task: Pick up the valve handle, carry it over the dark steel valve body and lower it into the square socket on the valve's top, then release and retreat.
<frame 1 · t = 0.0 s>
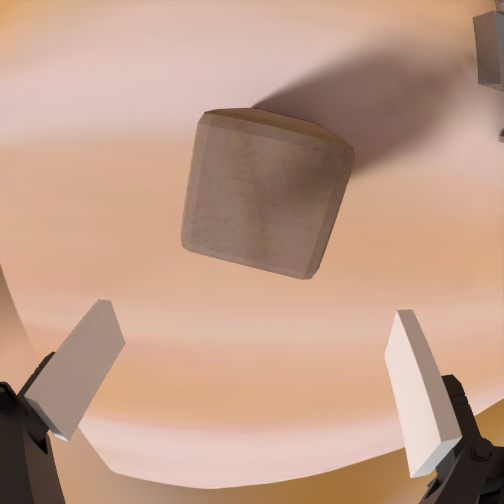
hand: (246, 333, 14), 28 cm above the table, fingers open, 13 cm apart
valve body: (502, 59, 25), on the table
wooden block: (276, 153, 37), on the table
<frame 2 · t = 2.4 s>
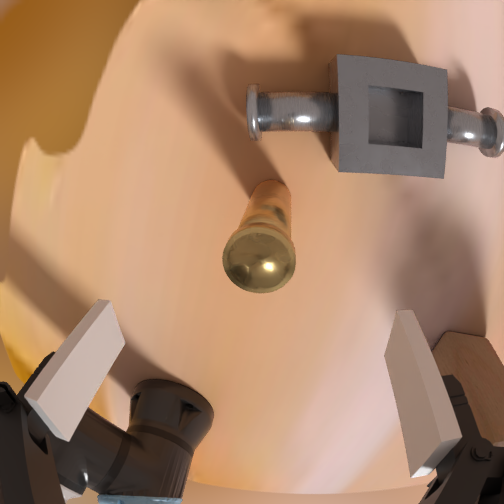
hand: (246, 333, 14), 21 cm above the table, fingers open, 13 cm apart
valve body: (379, 114, 27), on the table
wooden block: (451, 355, 39), on the table
valve handle: (271, 198, 32), on the table
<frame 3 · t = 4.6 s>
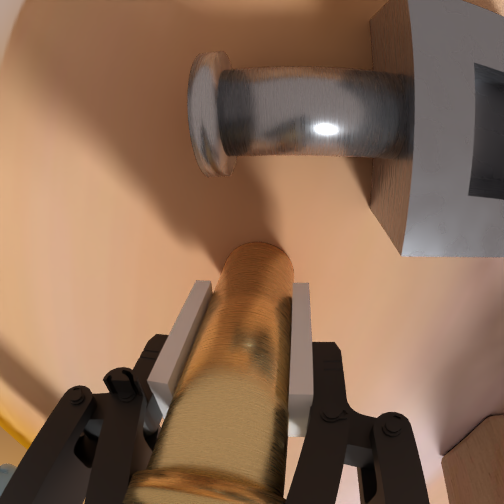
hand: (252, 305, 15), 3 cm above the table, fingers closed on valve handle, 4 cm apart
valve body: (459, 124, 13), on the table
wooden block: (485, 434, 25), on the table
valve handle: (258, 273, 18), on the table, touching gripper
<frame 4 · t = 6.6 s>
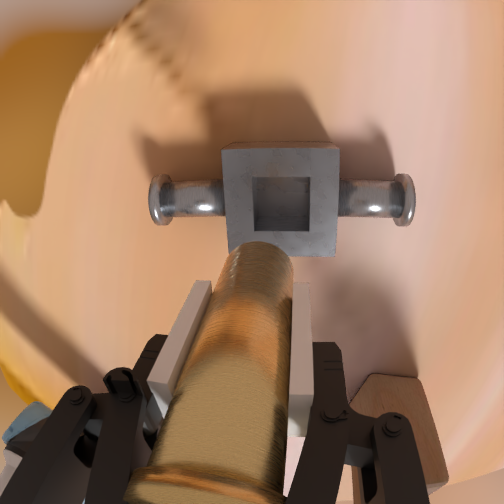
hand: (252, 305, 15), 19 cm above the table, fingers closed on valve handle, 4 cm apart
valve body: (282, 189, 32), on the table
wooden block: (382, 392, 45), on the table
valve handle: (258, 272, 18), point 16 cm above the table, touching gripper
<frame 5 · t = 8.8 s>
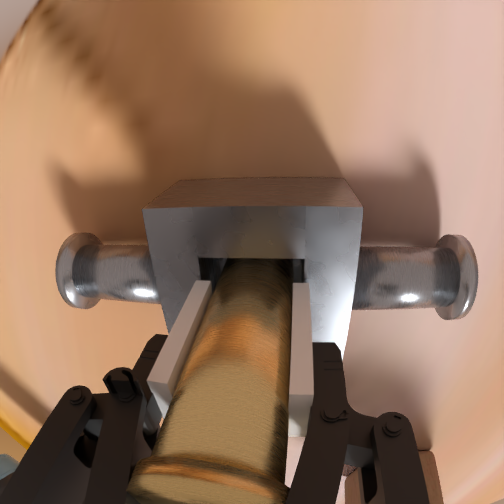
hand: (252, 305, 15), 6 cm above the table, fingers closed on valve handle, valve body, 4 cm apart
valve body: (262, 253, 21), on the table
wooden block: (387, 464, 33), on the table
valve handle: (259, 269, 18), point 2 cm above the table, touching gripper
when the fingers open (6 cm above the table, at t = 9.0 s): valve handle stays where it is, resting on valve body.
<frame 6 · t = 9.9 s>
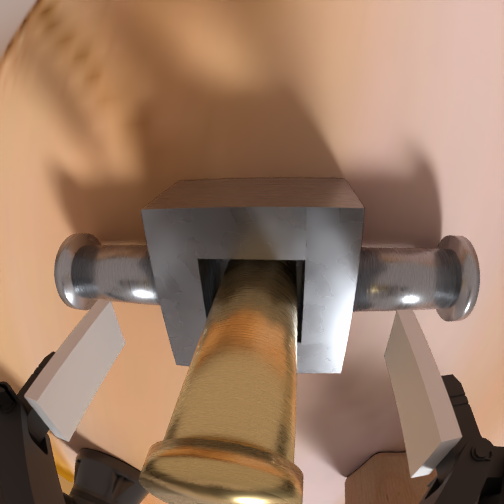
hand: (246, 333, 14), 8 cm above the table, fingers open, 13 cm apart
valve body: (262, 254, 20), on the table
wooden block: (388, 464, 33), on the table
valve handle: (263, 264, 19), point 2 cm above the table, touching valve body
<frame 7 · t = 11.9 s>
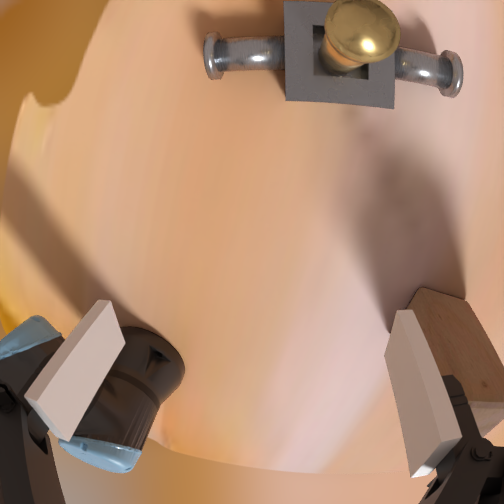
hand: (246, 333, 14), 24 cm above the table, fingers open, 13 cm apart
valve body: (334, 59, 27), on the table
wooden block: (428, 317, 40), on the table
valve handle: (337, 56, 26), point 1 cm above the table, touching valve body
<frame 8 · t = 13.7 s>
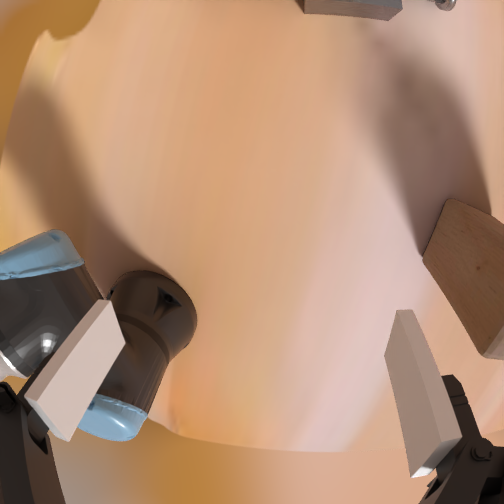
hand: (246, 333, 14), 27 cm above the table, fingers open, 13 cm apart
wooden block: (457, 237, 37), on the table
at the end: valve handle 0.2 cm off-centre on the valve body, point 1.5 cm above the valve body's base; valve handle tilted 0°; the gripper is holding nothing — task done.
